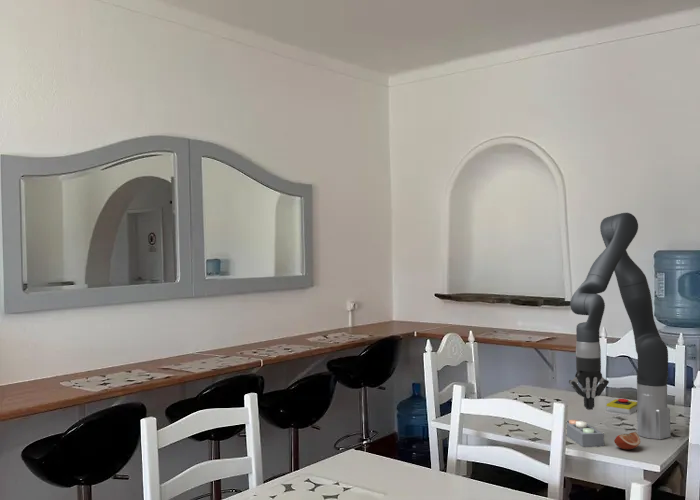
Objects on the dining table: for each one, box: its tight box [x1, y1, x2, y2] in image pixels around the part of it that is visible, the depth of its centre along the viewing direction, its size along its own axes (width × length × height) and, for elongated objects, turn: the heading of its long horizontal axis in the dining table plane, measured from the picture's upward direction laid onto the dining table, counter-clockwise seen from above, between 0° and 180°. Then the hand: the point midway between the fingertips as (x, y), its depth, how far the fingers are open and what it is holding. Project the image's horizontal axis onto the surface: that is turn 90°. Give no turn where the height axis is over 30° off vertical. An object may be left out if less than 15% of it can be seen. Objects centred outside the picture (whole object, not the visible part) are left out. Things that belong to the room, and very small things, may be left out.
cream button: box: [576, 420, 588, 429], centre depth 221 cm, size 3×3×2 cm
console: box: [566, 419, 605, 448], centre depth 221 cm, size 18×7×4 cm, turn 5°
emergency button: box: [604, 398, 637, 417], centre depth 259 cm, size 9×4×15 cm
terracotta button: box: [568, 419, 580, 424], centre depth 227 cm, size 3×3×2 cm
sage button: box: [583, 428, 594, 433], centre depth 216 cm, size 3×3×2 cm
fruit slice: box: [613, 431, 642, 450], centre depth 209 cm, size 8×7×5 cm
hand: (589, 409), depth 216 cm, fingers closed
